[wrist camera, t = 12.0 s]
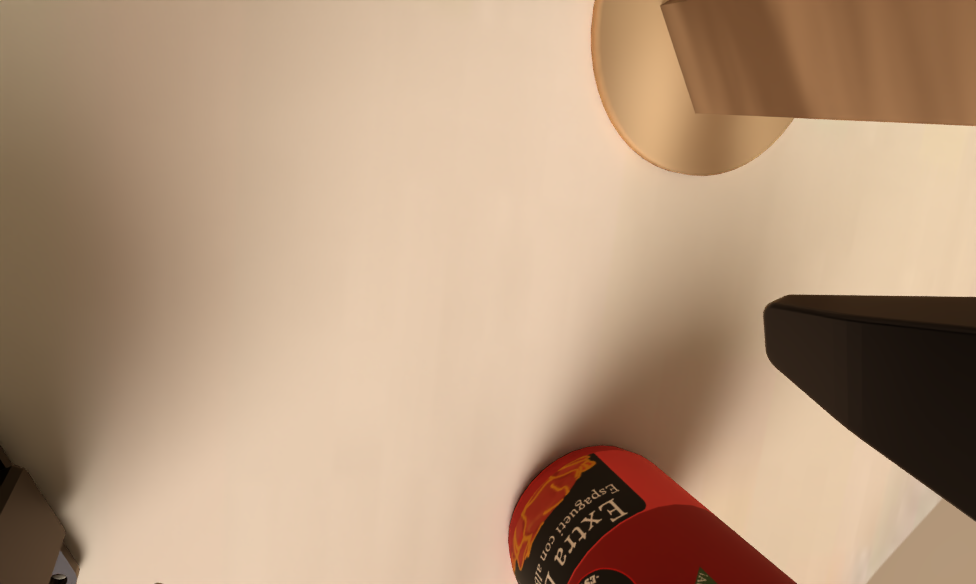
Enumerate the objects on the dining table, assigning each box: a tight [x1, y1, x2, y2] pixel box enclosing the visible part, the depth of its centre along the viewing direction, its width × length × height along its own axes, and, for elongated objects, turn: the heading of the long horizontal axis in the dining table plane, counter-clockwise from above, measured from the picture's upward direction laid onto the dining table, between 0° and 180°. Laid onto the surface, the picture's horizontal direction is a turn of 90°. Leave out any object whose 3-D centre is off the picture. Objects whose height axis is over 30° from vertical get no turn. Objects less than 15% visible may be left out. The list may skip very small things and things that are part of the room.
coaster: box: [591, 0, 794, 176], centre depth 23 cm, size 10×10×1 cm
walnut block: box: [660, 0, 976, 126], centre depth 18 cm, size 4×4×10 cm
